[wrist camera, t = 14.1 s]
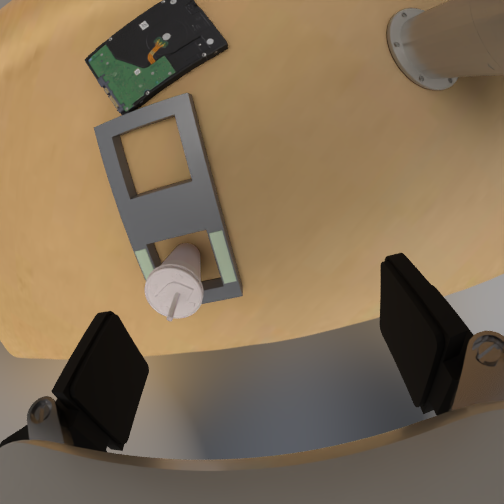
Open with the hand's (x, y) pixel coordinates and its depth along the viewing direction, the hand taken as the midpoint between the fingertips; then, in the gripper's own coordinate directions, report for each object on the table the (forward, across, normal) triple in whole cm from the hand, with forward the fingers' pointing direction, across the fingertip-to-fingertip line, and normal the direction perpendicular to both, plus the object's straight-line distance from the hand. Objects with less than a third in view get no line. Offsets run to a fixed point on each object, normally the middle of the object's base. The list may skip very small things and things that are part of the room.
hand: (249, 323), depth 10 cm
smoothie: (+27, +11, +9) cm, 30 cm away
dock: (+27, +11, +2) cm, 29 cm away
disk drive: (+28, +8, -18) cm, 34 cm away
